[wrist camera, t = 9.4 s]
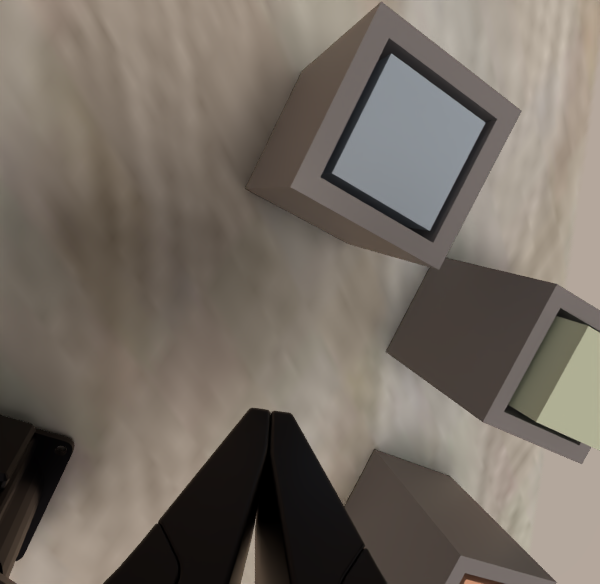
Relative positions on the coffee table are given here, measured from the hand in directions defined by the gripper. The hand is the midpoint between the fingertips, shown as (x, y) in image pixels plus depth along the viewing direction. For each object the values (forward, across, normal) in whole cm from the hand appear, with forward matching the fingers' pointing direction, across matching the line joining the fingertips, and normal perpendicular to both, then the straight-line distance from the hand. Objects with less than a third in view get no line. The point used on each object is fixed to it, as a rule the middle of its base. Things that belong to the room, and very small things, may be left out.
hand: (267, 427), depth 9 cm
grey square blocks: (+14, -6, +6) cm, 17 cm away
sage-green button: (+9, -12, +3) cm, 16 cm away
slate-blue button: (+10, -3, -4) cm, 12 cm away
